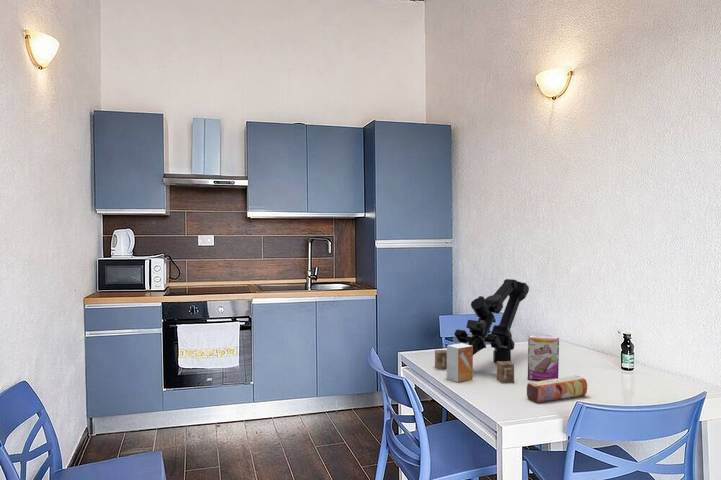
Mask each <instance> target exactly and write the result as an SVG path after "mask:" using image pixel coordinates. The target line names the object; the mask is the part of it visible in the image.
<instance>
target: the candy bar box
mask: <svg viewBox="0 0 721 480" xmlns="http://www.w3.org/2000/svg"><path fill="white" fill-rule="evenodd" d="M527 345H528V346H527V349H528V350H527V356H528V357H527V380H531V381H536V382H538V381H544V380H551V379H557V378H559V366H560V365H559V364H560V363H559V361H560V358H559V356H560V353H559V352H560V338H559V337H557V336H556V337H555V336H546V335H545V336H544V335H530V334H529V335H528V344H527Z"/></svg>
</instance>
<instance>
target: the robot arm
mask: <svg viewBox="0 0 721 480" xmlns="http://www.w3.org/2000/svg"><path fill="white" fill-rule="evenodd" d="M529 291H530V287H529V285H528V284H527V283H526V282H521V281H518V280H516V279H512V278H511V279H510V278H507V279H504V281H503V283H502V284H501V285H500V287H498V289H497V290H496V291H495V293H494V294H491V295H489V296H487V297H486V298H485V297H484V296H481V295H479V296H478V297H477V298H475V299H473V300H472V301H471V303H470V306H471V309H472V310H473V312H474V313H475V316H476V317H478V318H477V320H474V319H467V322H466V326H465V328H466V329H469V333H467V331H466V330H464V329H455V331H454V333H453V334H454V335H453V336H455V337H456V340H457V341H458V343H463V344H468V345H471V346H473V356H475V355H476V354H477V353H479V352H481V350H483V349H487V344H488V343H490V348H493V352H492V353H493V354H492V355H493V356H492V361H493V362H494V363H496V364H497V361H510V362H512V360H511V359H512V358H511V357H512V353H511V352H512V351H514V349H515V341H514V340H513V339H512V336H513V335H512V330H511V328H512V325H513V322H514V319H515V317H516V314H517V311H518V308H519V306H520V303H521V302H522V301H523V300H525V299H526V297H527V295H528V293H529ZM507 298H508V300H507V302H506V306H505V308H504V302H505V300H506V299H507ZM503 308H504V310H503V314H502V316H501V319H500V322H499V324H496V325H493V323H496V317H495V315H494V314H500V313H501V311H502V309H503ZM492 325H493V327H492ZM491 327H492V330H491Z"/></svg>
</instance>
